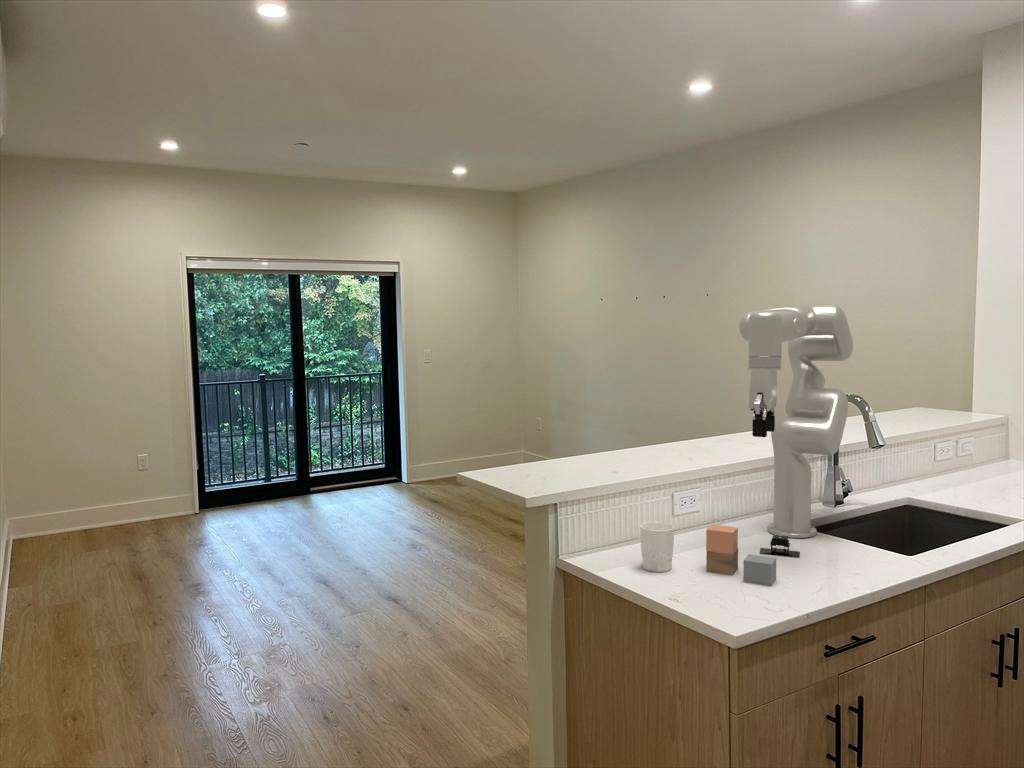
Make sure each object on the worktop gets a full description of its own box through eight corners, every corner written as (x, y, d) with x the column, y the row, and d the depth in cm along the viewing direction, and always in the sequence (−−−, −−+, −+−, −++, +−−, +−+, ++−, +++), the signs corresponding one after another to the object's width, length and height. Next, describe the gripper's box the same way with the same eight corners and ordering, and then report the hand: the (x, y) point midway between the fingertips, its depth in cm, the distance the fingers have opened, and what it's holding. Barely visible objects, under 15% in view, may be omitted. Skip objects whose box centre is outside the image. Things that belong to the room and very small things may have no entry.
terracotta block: (711, 545, 175) (711, 524, 174) (737, 548, 172) (737, 527, 171) (706, 550, 170) (706, 529, 170) (732, 554, 167) (732, 532, 167)
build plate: (806, 553, 185) (807, 535, 184) (806, 562, 178) (806, 543, 178) (754, 548, 190) (754, 531, 189) (752, 556, 183) (752, 538, 182)
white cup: (669, 561, 178) (669, 521, 177) (677, 572, 170) (678, 530, 169) (637, 562, 178) (637, 522, 177) (644, 573, 170) (644, 531, 169)
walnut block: (712, 565, 175) (712, 545, 175) (737, 569, 172) (738, 548, 172) (706, 571, 171) (706, 550, 170) (732, 575, 168) (732, 554, 167)
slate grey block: (748, 575, 168) (748, 554, 168) (776, 579, 165) (776, 558, 165) (743, 582, 164) (743, 560, 163) (771, 586, 161) (771, 564, 160)
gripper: (756, 361, 187) (755, 428, 188) (740, 365, 172) (739, 437, 173) (787, 361, 183) (786, 430, 185) (774, 365, 168) (773, 440, 170)
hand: (763, 433), depth 179 cm, fingers open, 9 cm apart
